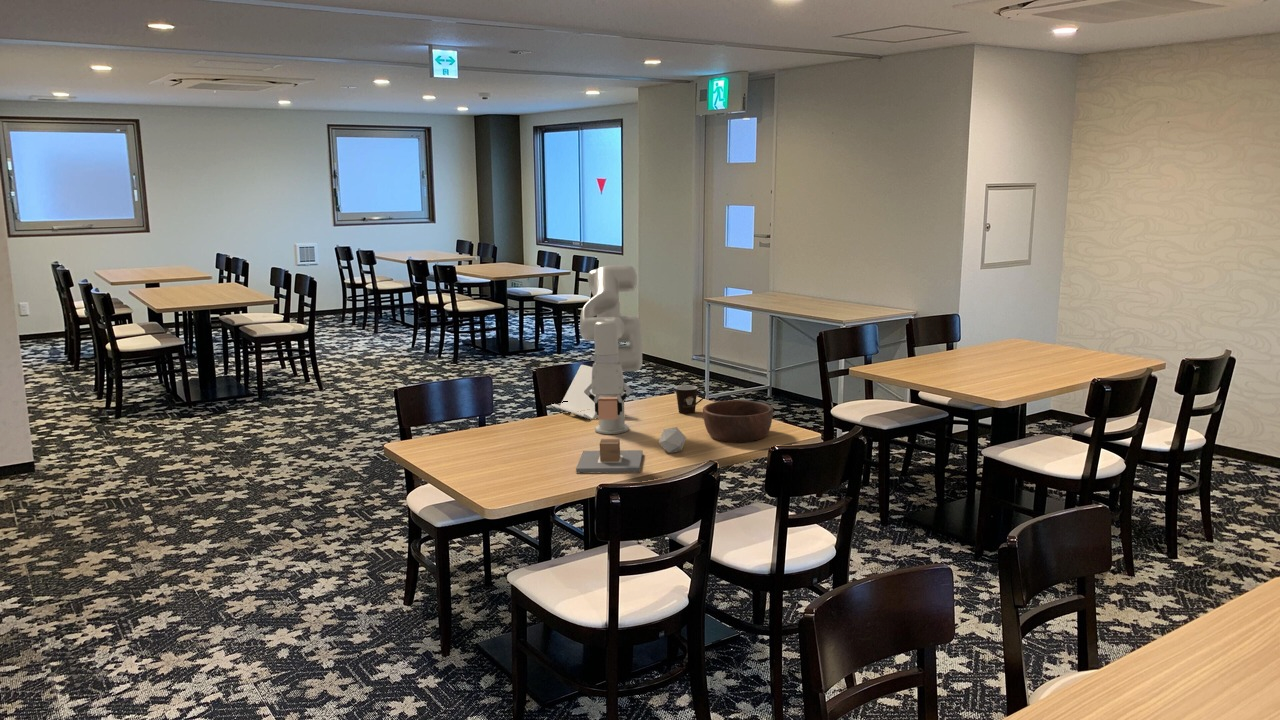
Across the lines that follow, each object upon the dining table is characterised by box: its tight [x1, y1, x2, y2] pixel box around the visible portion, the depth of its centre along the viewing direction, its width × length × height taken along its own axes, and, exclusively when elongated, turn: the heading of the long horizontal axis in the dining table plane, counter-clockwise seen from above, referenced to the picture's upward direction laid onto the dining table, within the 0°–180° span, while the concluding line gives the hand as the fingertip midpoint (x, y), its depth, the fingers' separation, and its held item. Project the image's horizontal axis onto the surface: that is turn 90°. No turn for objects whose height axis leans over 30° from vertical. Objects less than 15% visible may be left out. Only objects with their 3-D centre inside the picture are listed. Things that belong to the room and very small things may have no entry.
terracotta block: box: [598, 397, 619, 421], centre depth 304 cm, size 6×6×6 cm
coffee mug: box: [675, 384, 707, 415], centre depth 372 cm, size 12×9×10 cm
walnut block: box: [599, 438, 621, 462], centre depth 307 cm, size 6×6×6 cm
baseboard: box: [575, 449, 644, 474], centre depth 308 cm, size 20×20×2 cm
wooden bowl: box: [702, 399, 774, 443], centre depth 337 cm, size 25×25×10 cm
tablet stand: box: [551, 364, 599, 421], centre depth 377 cm, size 18×25×17 cm
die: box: [658, 426, 687, 454], centre depth 320 cm, size 8×9×10 cm
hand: (608, 413), depth 305 cm, fingers closed on terracotta block, 6 cm apart
